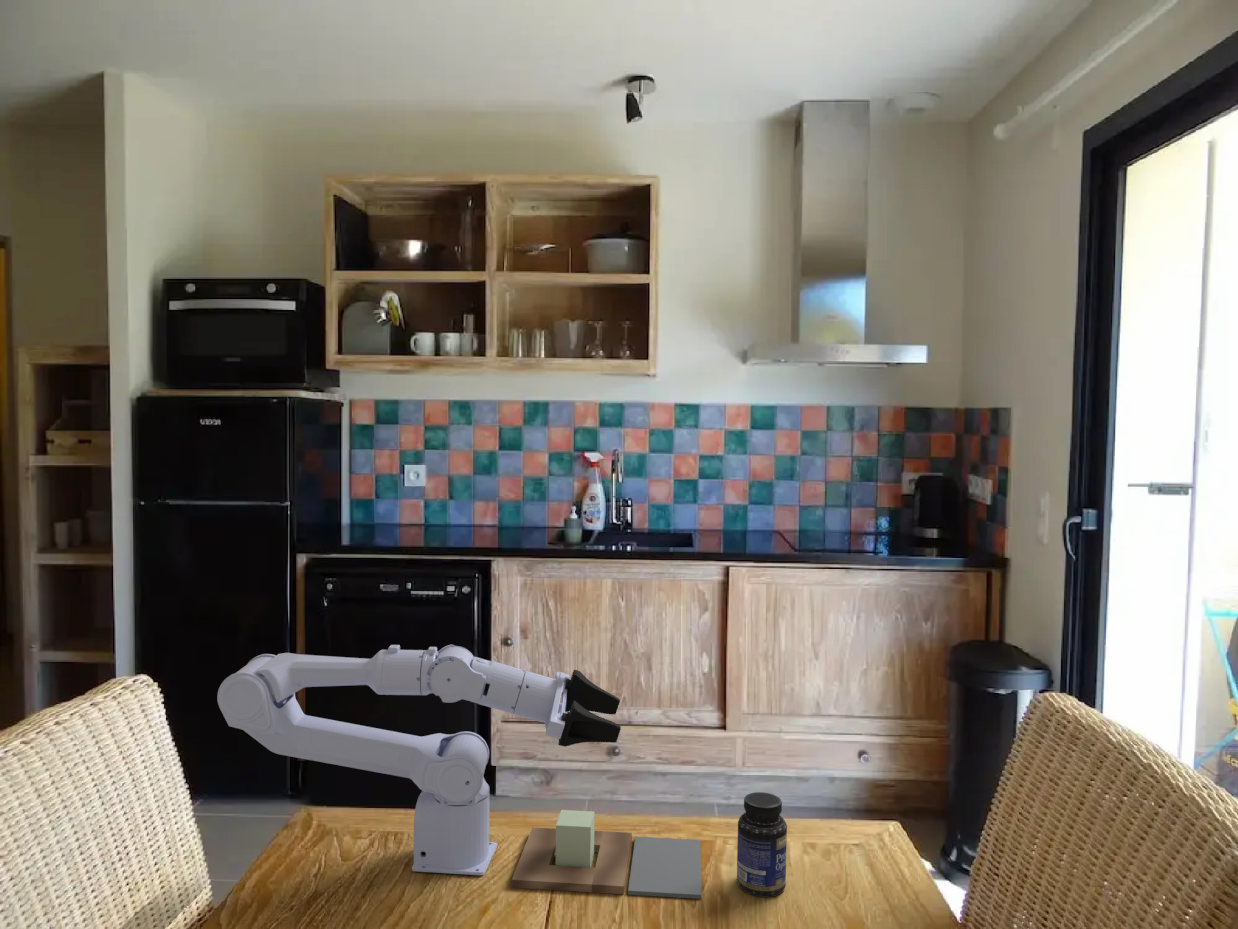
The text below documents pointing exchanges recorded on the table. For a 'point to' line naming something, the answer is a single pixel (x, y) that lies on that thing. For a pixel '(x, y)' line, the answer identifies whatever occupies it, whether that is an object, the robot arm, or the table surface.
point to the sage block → (575, 838)
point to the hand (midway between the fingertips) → (618, 720)
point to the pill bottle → (762, 846)
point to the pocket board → (601, 879)
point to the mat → (666, 868)
